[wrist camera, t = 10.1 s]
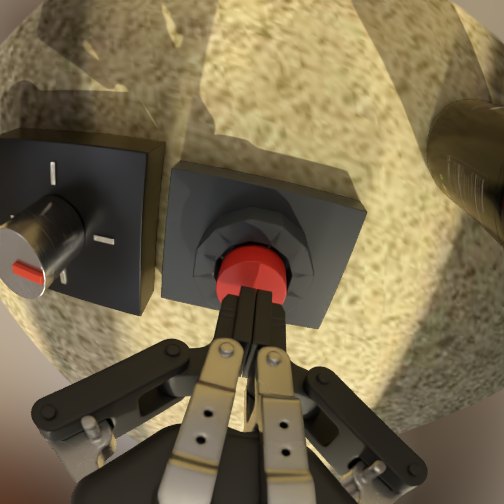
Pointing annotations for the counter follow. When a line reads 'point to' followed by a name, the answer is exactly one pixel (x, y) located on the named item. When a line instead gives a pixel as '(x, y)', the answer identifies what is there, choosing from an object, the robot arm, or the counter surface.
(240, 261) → the power button
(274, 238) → the button housing
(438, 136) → the supplement bottle
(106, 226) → the stove panel
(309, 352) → the counter surface
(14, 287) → the stove knob
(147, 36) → the counter surface
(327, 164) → the counter surface
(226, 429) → the robot arm
